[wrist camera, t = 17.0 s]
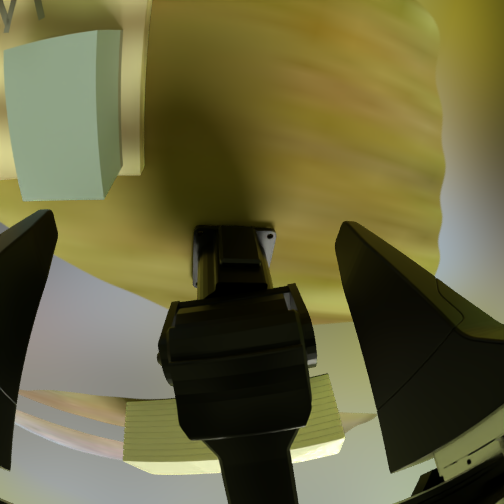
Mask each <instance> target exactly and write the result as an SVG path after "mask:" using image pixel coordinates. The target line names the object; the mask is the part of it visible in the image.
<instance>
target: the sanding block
mask: <svg viewBox="0 0 504 504" xmlns="http://www.w3.org/2000/svg"><path fill="white" fill-rule="evenodd" d="M122 42H123V30H94V31H87V32H81V33H75V34H69V35H64V36H59V37H54V38H49V39H44V40H40V41H36V42H32V43H28V44H24V45H21V46H17V47H13V48H10V49H7V50H4V83H5V98H6V109H7V118H8V126H9V133H10V140H11V146H12V152H13V158H14V163H15V168H16V173H17V178H18V182H19V187H20V191H21V195H22V199H23V201H46V200H104V199H105V197H106V195H107V193H108V191H109V189H110V188H111V186H112V184H113V182H114V180H115V179H116V177H117V175H118V173H119V172H120V170H121V168H122V166H123V157H122V136H121V62H122Z"/></svg>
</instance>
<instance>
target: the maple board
mask: <svg viewBox="0 0 504 504" xmlns="http://www.w3.org/2000/svg"><path fill="white" fill-rule="evenodd" d="M151 8H152V0H0V180H6V179H18V178H17V173H16V168H15V163H14V158H13V152H12V146H11V140H10V133H9V126H8V118H7V109H6V98H5V83H4V50H7V49H10V48H13V47H17V46H21V45H24V44H28V43H32V42H36V41H40V40H44V39H49V38H54V37H59V36H64V35H69V34H75V33H81V32H87V31H94V30H123V42H122V62H121V136H122V157H123V166H122V168H121V170H120V172H119V173H118V175H141V173H142V171H143V169H144V166H145V164H144V111H145V81H146V63H147V49H148V37H149V26H150V17H151Z"/></svg>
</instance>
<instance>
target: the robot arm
mask: <svg viewBox="0 0 504 504" xmlns="http://www.w3.org/2000/svg"><path fill="white" fill-rule="evenodd" d="M198 231H202V233H198ZM268 234H272V235H271V236H267V235H268ZM57 239H58V231H57V227H56V223H55V219H54V215H53V212H52V211H51V210H49V209H44V210H38V211H37V212H35V213H33V214H32V215H30V216H28V217H27V218H25V219H23V220H22V221H20V222H18V223H17V224H15V225H14V226H12V227H10V228H9V229H8V230H6V231H4V232H3V233H1V234H0V468H2V469H5V470H7V471H10V468H11V454H12V439H13V430H14V421H15V413H16V404H17V398H18V392H19V386H20V381H21V375H22V370H23V365H24V361H25V356H26V352H27V347H28V343H29V339H30V335H31V331H32V328H33V324H34V320H35V317H36V313H37V310H38V307H39V303H40V300H41V297H42V294H43V291H44V288H45V284H46V281H47V278H48V274H49V270H50V266H51V262H52V258H53V254H54V250H55V247H56V243H57ZM275 240H276V232H275V230H274V229H271V228H254V227H246V226H224V225H222V226H208V225H198V226H196V227H195V229H194V246H193V286H194V287H196V288H197V300H193V301H185V302H180V301H175V302H172V303H171V306H170V309H169V311H168V314H167V317H166V320H165V323H164V326H163V329H162V333H161V336H160V339H159V342H158V349H159V353H158V354H157V361H158V363H159V364H160V365H161V366H162V368H163V372H164V375H165V378H166V380H167V381H168V383H169V384H170V385H171V386H173V387H174V392H175V398H176V405H177V413H178V421H179V426H180V427H181V429H182V430H183V432H184V433H185V434H186V436H187V437H188V438H189V439H190V440H191V441H198V440H201V441H202V442H203V443H204V444H205V445H206V446H207V447H208V448H209V449H210V450H211V451H212V452H213V453H214V454H215V455H216V456H217V457H218V460H219V464H220V468H221V473H222V478H223V482H224V487H225V491H226V496H227V500H228V504H298V497H297V491H296V485H295V478H294V472H293V465H292V459H291V452H290V447H291V445H292V443H293V441H294V439H295V437H296V435H297V433H298V431H299V429H300V428H302V427H305V426H306V424H307V422H308V419H309V416H310V413H311V410H312V405H311V402H312V393H311V385H310V378H309V371H308V368H312V367H316V364H317V351H316V342H315V336H314V331H313V327H312V322H311V319H310V316H309V313H308V311H307V308H306V306H305V304H304V302H303V299H302V297H301V295H300V293H299V290H298V288H297V286H296V284H295V283H293V284H288V285H287V286H284V287H278V288H273V284H272V280H271V275H270V271H269V267H270V262H271V258H272V253H273V249H274V244H275ZM335 251H336V256H337V261H338V265H339V270H340V275H341V280H342V285H343V289H344V293H345V296H346V299H347V303H348V306H349V309H350V312H351V316H352V319H353V322H354V325H355V329H356V333H357V336H358V340H359V343H360V347H361V350H362V354H363V357H364V361H365V365H366V369H367V372H368V376H369V380H370V384H371V388H372V392H373V396H374V400H375V405H376V408H377V414H378V418H379V422H380V427H381V431H382V436H383V441H384V445H385V450H386V455H387V460H388V465H389V470H390V473H395V472H398V471H400V470H403V469H406V468H409V467H412V466H414V465H417V464H419V463H422V462H424V461H427V460H429V459H432V458H434V459H435V463H436V466H437V468H436V469H434V470H431V471H430V472H427V473H425V474H423V475H421V476H420V478H419V481H418V483H417V485H416V487H415V489H414V491H413V493H412V495H411V497H409V498H407V499H404V500H402V501H399V502H397V503H394V504H504V324H501V323H499V322H498V321H496V320H494V319H493V318H492V317H490V316H489V315H488V314H486V313H485V312H483V311H482V310H481V309H479V308H478V307H476V306H475V305H473V304H472V303H471V302H469V301H468V300H466V299H465V298H463V297H462V296H461V295H459V294H458V293H456V292H455V291H454V290H452V289H451V288H450V287H448V286H447V285H446V284H444V283H443V282H442V281H440V280H439V279H437V278H436V277H435V276H433V275H432V274H431V273H429V272H428V271H427V270H425V269H424V268H423V267H421V266H420V265H418V264H417V263H416V262H414V261H413V260H411V259H410V258H409V257H407V256H406V255H404V254H403V253H401V252H400V251H399V250H397V249H396V248H394V247H393V246H391V245H390V244H388V243H387V242H385V241H384V240H383V239H381V238H380V237H378V236H377V235H375V234H374V233H372V232H371V231H369V230H368V229H366V228H365V227H363V226H362V225H360V224H358V223H357V222H353V221H344V222H343V223H342V225H341V227H340V230H339V233H338V236H337V239H336V242H335ZM0 504H13V503H10V502H8V501H5V500H3V499H1V498H0Z"/></svg>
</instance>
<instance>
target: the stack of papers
mask: <svg viewBox="0 0 504 504" xmlns="http://www.w3.org/2000/svg"><path fill="white" fill-rule="evenodd" d="M309 378H310V385H311V393H312V402H311V405H312V410H311V413H310V416H309V419H308V422H307V424H306V426H305V427H302V428H300V429H299V431H298V433H297V435H296V437H295V439H294V441H293V443H292V445H291V447H290V452H291V459H292V463H297V462H302V461H307V460H312V459H316V458H321V457H325V456H329V455H333V454H337V453H339V451H340V449H341V447H342V444H343V442H344V439H345V434H344V432H343V427H342V423H341V420H340V415H339V414H338V413H339V412H338V408H337V404H336V402H335V401H336V400H335V397H334V393H333V391H332V386H331V382H330V379H329V375H328V373H326V374H322V375H318V376H313V377H309ZM126 405H127V407H126V411H127V412H126V417H125V422H126V423H125V427H126V428H125V430H124V432H125V434H124V438H125V439H124V444H125V445H124V446H123V449H125V450H123V455H124V456H123V461H124V462H126V463H128V464H130V465H133V466H135V467H138V468H139V469H142V470H144V471H146V472H149V473H151V474H159V475H183V474H207V473H221V468H220V464H219V460H218V457H217V456H216V455H215V454H214V453H213V452H212V451H211V450H210V449H209V448H208V447H207V446H206V445H205V444H204V443H203V442H202V441H201V440H198V441H191V440H190V439H189V438H188V437H187V436H186V434H185V433H184V432H183V430H182V429H181V427H180V426H179V421H178V413H177V405H176V399H170V398H168V400H154V401H135V402H127V404H126Z"/></svg>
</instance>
